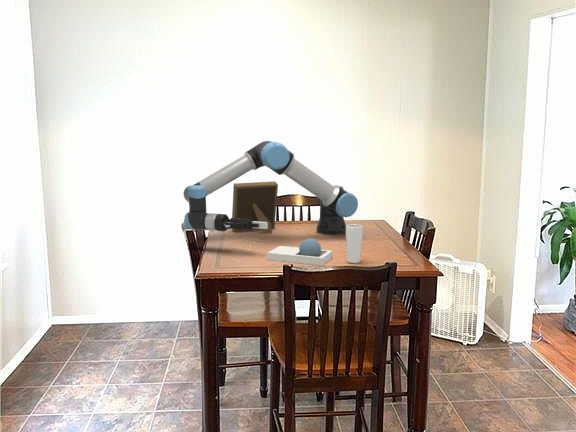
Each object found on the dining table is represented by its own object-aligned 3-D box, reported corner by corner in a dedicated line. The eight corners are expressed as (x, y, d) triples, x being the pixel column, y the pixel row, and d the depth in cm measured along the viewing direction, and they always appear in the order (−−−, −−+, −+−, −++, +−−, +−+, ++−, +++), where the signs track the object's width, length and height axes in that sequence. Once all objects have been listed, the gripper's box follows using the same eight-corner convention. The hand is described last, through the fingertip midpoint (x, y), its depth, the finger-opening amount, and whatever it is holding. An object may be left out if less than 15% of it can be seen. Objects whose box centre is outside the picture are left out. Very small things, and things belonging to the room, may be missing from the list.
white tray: (267, 259, 242) (267, 252, 241) (279, 252, 254) (279, 245, 253) (322, 265, 233) (322, 258, 232) (332, 257, 244) (332, 250, 244)
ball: (310, 236, 246) (315, 256, 247) (293, 241, 242) (298, 262, 242) (322, 235, 238) (327, 256, 239) (304, 241, 234) (309, 262, 235)
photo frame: (231, 230, 299) (230, 181, 294) (271, 227, 306) (271, 179, 301) (239, 236, 285) (238, 186, 280) (281, 233, 293) (281, 183, 288)
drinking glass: (344, 260, 241) (344, 224, 238) (360, 259, 241) (360, 224, 239) (347, 264, 234) (347, 227, 231) (363, 263, 235) (364, 227, 232)
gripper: (225, 227, 262) (273, 231, 253) (210, 233, 250) (260, 237, 241) (224, 211, 260) (272, 214, 251) (209, 216, 249) (259, 219, 240)
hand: (266, 225), depth 246 cm, fingers closed
